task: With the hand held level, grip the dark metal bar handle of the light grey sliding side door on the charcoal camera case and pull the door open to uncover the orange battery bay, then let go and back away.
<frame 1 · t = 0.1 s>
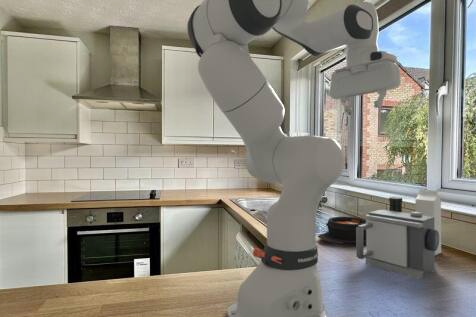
hand: (362, 109, 87), 48 cm above the countertop, tool pointing down, fingers open, 8 cm apart
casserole: (347, 241, 121), on the countertop
milk: (428, 252, 105), on the countertop
side door: (379, 243, 89), point 8 cm above the countertop, slide at 0.0 cm
camera case: (400, 265, 93), on the countertop
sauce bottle: (396, 254, 104), on the countertop
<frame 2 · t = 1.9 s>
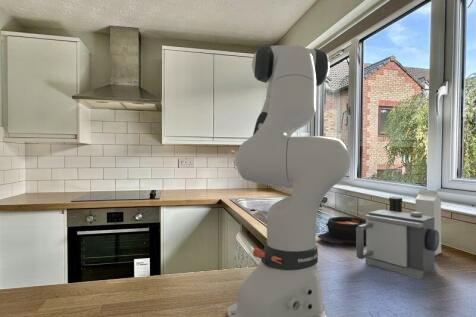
hand: (325, 180, 100), 26 cm above the countertop, tool horizontal, fingers open, 8 cm apart
nothing on the countertop moved.
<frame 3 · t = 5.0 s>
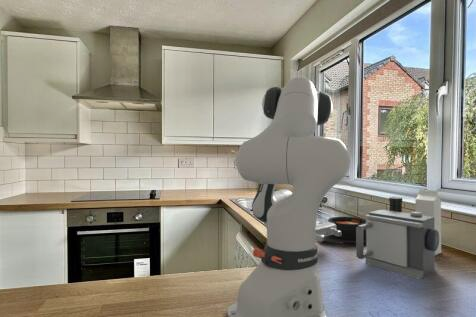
hand: (331, 236, 98), 8 cm above the countertop, tool horizontal, fingers open, 8 cm apart
nothing on the countertop moved.
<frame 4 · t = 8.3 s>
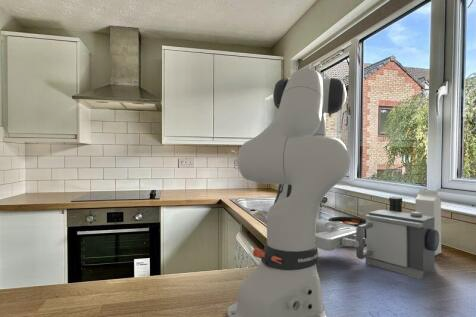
hand: (362, 243, 90), 8 cm above the countertop, tool horizontal, fingers closed on side door, 2 cm apart
side door: (379, 243, 89), point 8 cm above the countertop, slide at 0.0 cm, touching gripper
everything else where it was.
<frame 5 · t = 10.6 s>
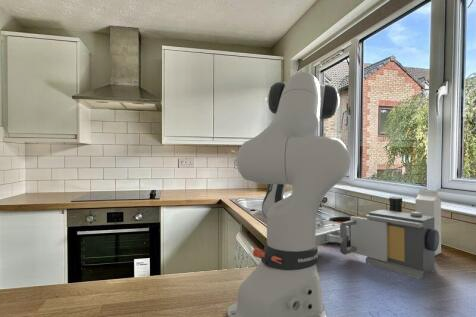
hand: (345, 239, 94), 8 cm above the countertop, tool horizontal, fingers closed on side door, 2 cm apart
side door: (362, 239, 94), point 8 cm above the countertop, slide at 5.7 cm, touching gripper
everything else where it was.
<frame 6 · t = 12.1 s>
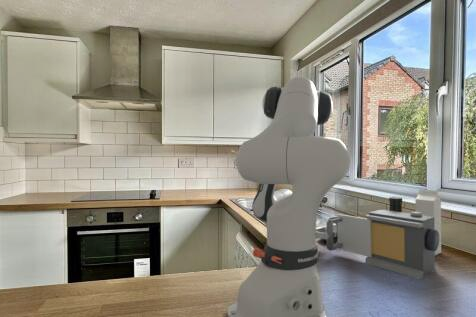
hand: (332, 235, 99), 8 cm above the countertop, tool horizontal, fingers closed on side door, 2 cm apart
side door: (347, 236, 98), point 8 cm above the countertop, slide at 10.8 cm, touching gripper
everything else where it was.
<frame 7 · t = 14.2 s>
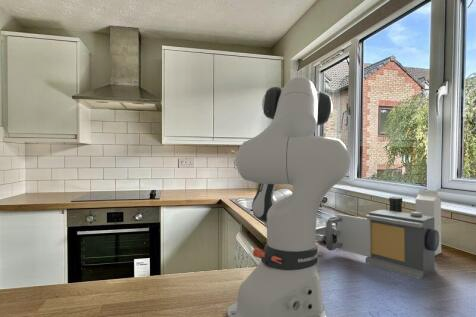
hand: (331, 235, 99), 8 cm above the countertop, tool horizontal, fingers open, 8 cm apart
side door: (346, 236, 98), point 8 cm above the countertop, slide at 11.0 cm
everything else where it was.
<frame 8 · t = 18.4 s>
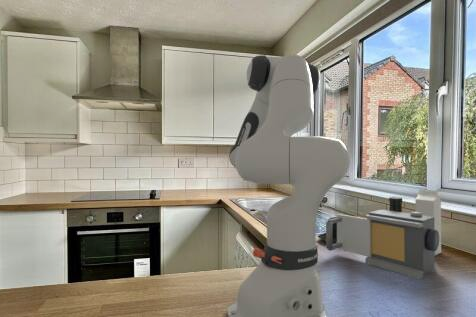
hand: (303, 168, 108), 30 cm above the countertop, tool horizontal, fingers open, 8 cm apart
nothing on the countertop moved.
at the end: side door slide at 11.0 cm; the gripper is holding nothing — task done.
